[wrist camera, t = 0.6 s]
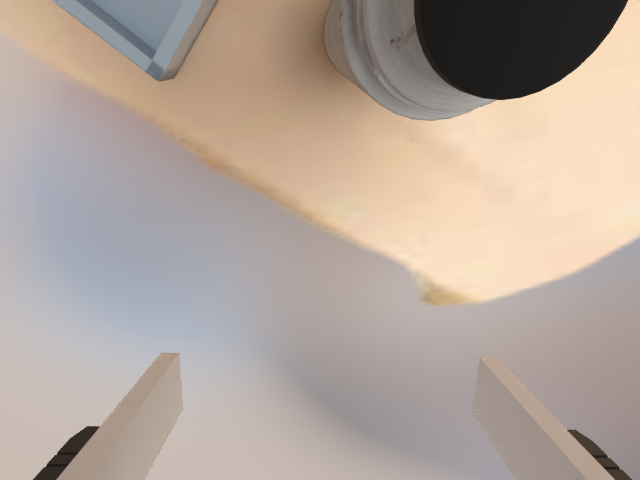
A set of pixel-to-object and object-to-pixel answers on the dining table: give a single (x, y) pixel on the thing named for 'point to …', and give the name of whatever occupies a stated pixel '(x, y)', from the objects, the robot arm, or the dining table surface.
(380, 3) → the thermos bottle
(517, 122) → the dining table surface
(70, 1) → the tray
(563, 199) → the dining table surface
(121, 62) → the dining table surface
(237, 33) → the dining table surface
